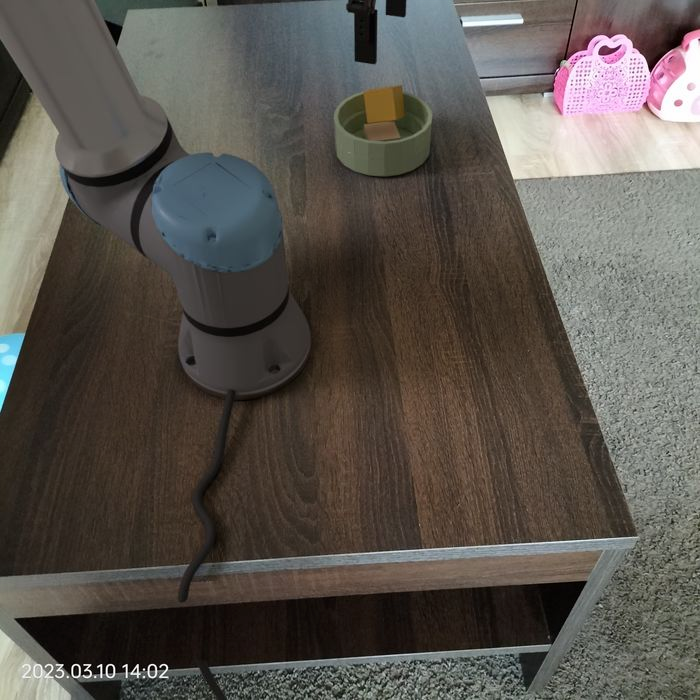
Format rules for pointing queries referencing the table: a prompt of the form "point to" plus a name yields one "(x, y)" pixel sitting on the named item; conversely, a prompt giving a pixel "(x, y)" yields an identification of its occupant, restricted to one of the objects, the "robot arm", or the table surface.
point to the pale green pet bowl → (382, 154)
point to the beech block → (381, 131)
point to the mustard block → (384, 104)
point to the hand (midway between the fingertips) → (381, 37)
